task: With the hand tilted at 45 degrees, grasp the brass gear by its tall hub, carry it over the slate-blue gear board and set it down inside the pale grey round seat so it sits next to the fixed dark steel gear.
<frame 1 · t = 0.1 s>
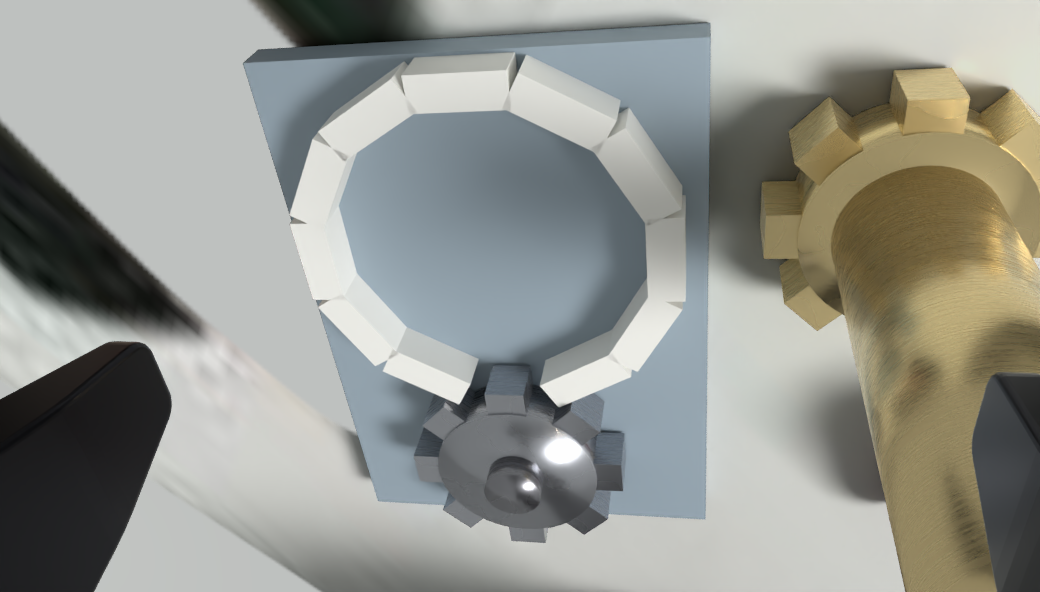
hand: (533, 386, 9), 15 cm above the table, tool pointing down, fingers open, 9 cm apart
brass gear: (901, 198, 23), on the table
fixed gear: (524, 440, 29), resting on gear board
gear board: (511, 303, 27), on the table
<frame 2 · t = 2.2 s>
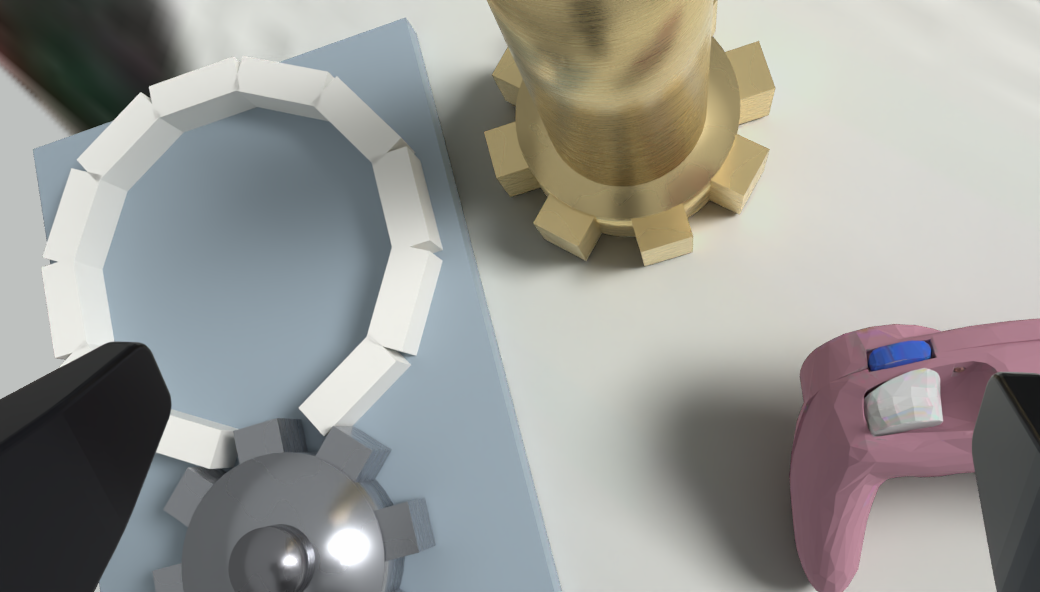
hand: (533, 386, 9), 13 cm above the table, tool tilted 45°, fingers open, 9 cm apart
brass gear: (630, 136, 24), on the table
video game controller: (989, 461, 21), on the table
fixed gear: (308, 553, 22), resting on gear board
gear board: (287, 370, 24), on the table
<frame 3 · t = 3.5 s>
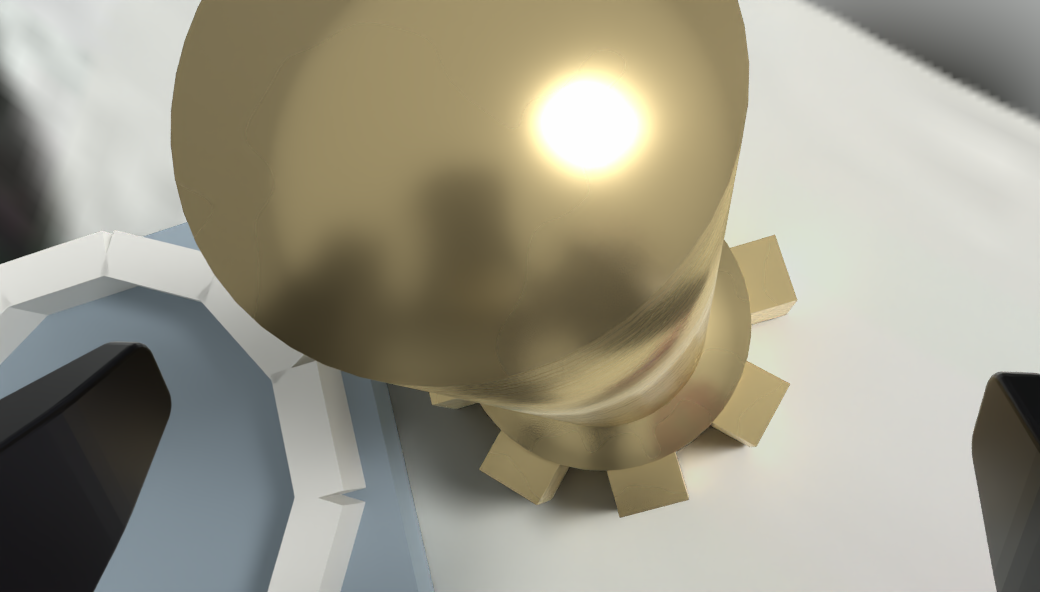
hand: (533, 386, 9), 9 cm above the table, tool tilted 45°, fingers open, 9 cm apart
brass gear: (608, 334, 18), on the table
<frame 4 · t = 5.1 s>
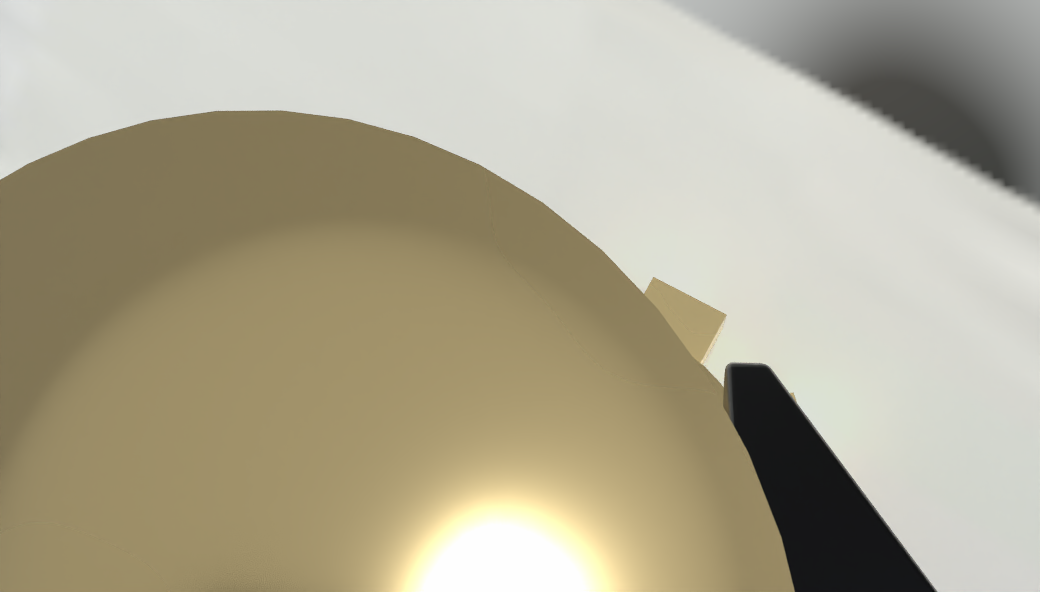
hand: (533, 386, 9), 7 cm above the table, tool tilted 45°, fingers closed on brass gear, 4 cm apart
brass gear: (592, 488, 15), on the table, touching gripper
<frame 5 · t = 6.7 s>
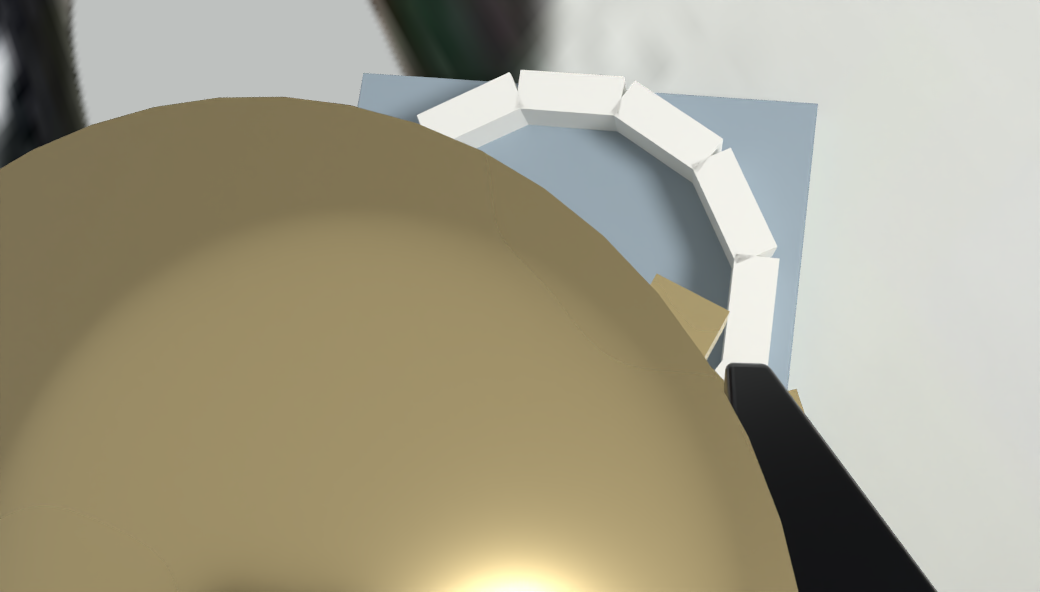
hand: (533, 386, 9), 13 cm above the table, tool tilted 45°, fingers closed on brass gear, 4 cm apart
brass gear: (595, 484, 15), point 7 cm above the table, touching gripper
gear board: (539, 413, 23), on the table
when the fingers open (9 cm above the table, at t = 8.4 s): brass gear drops 1 cm, resting on gear board.
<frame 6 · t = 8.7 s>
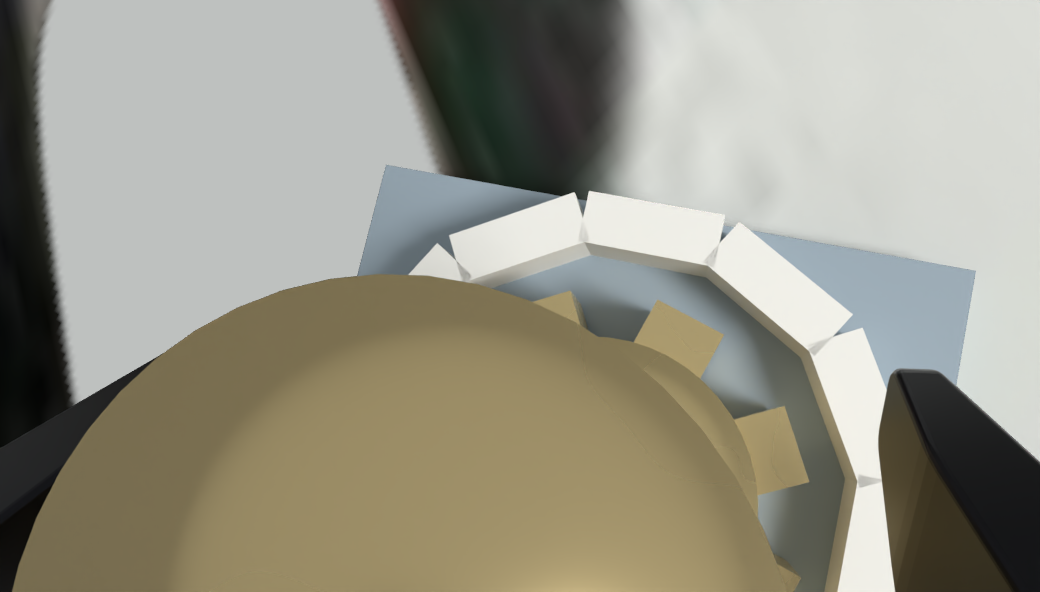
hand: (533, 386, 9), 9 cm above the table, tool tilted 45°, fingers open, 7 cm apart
brass gear: (599, 490, 17), point 1 cm above the table, touching gear board
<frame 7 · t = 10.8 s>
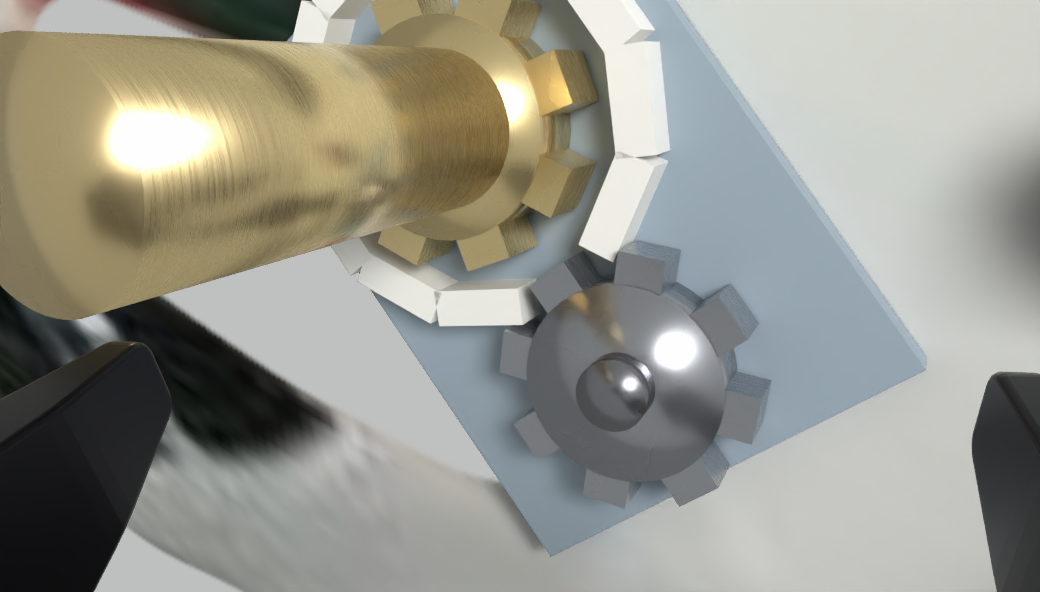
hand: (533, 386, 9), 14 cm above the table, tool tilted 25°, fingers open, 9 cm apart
brass gear: (475, 126, 23), point 1 cm above the table, touching gear board
fixed gear: (639, 366, 23), resting on gear board
gear board: (549, 207, 24), on the table
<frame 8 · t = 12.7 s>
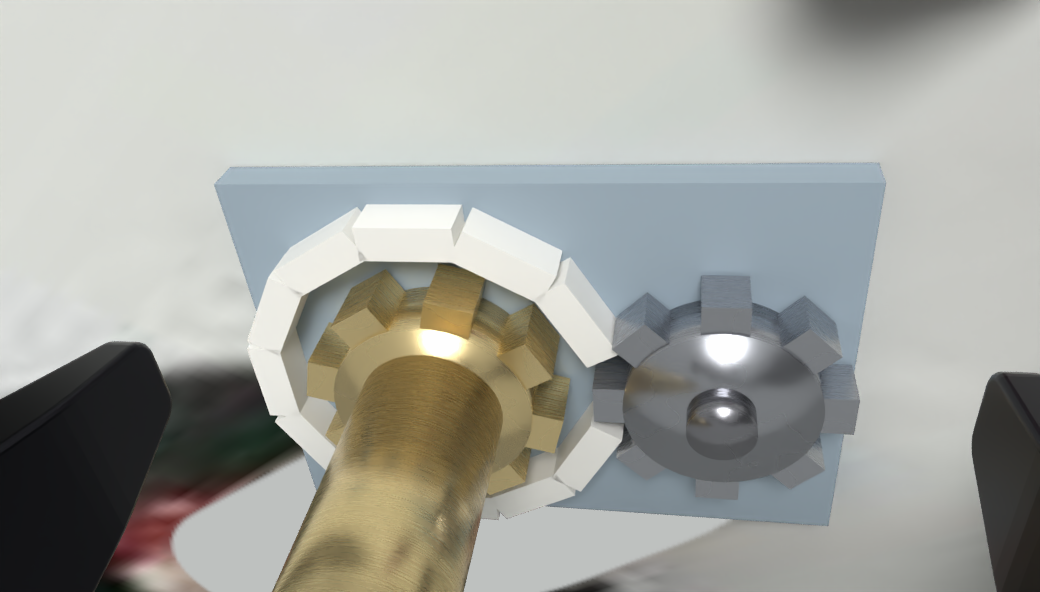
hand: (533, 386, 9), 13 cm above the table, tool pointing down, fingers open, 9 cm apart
brass gear: (447, 364, 25), point 1 cm above the table, touching gear board
fixed gear: (720, 374, 24), resting on gear board
gear board: (548, 345, 26), on the table
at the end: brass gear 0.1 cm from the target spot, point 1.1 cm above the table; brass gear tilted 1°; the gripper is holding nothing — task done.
